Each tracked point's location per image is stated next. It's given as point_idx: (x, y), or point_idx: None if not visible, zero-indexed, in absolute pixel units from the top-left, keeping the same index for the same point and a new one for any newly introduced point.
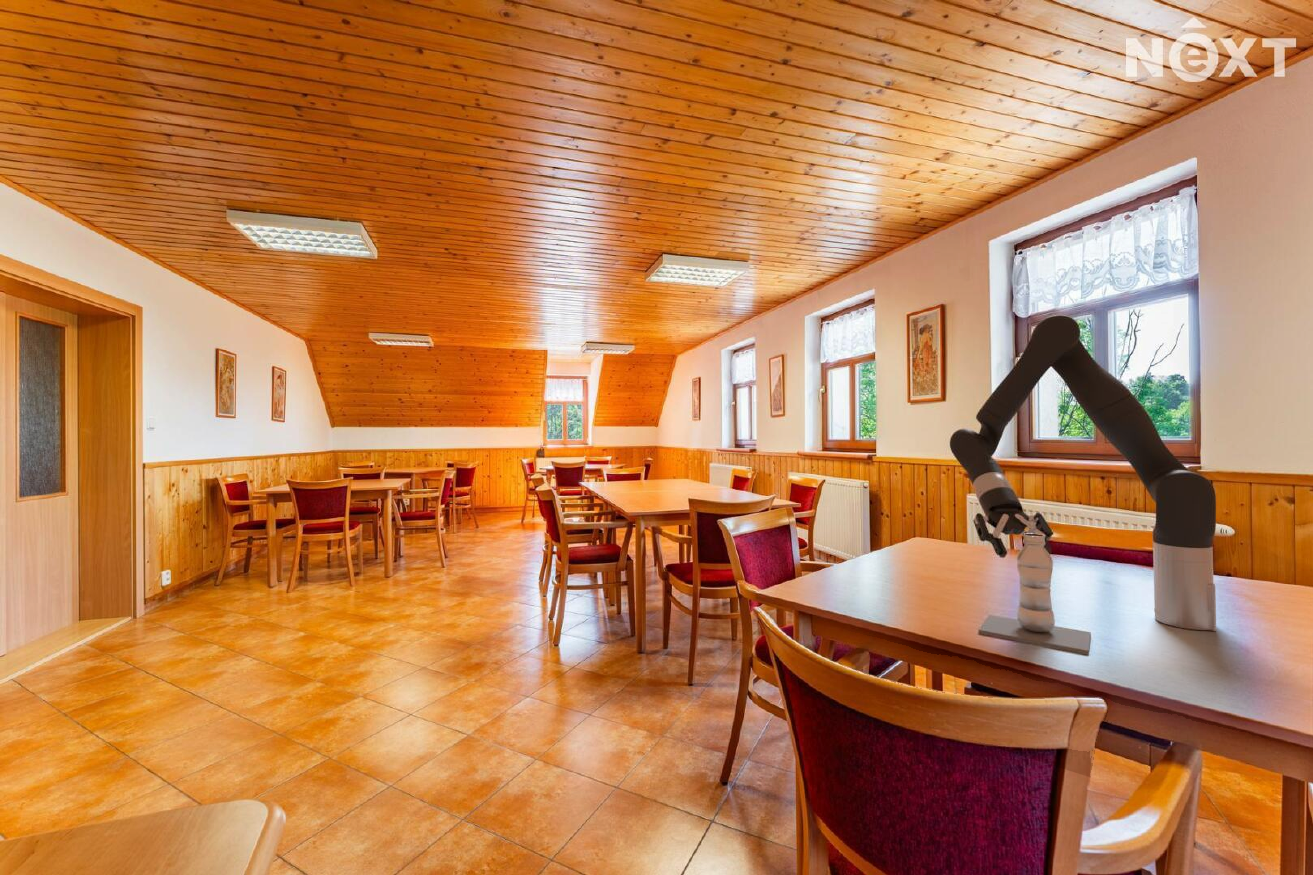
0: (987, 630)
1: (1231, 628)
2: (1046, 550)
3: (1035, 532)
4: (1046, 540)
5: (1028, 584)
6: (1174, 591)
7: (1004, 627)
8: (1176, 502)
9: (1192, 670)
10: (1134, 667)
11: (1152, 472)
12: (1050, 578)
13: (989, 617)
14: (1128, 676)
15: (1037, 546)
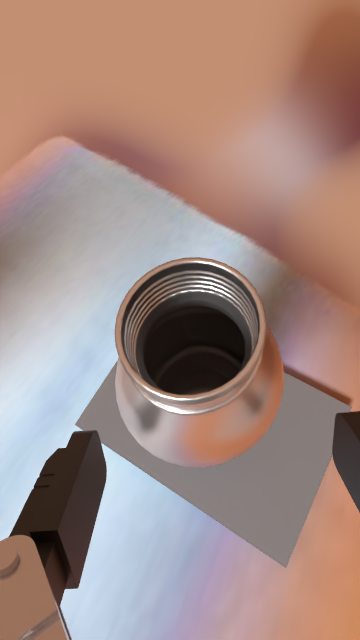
0: (328, 404)
1: None
2: (90, 436)
3: (45, 598)
4: (11, 532)
5: (238, 361)
6: None
7: (277, 434)
8: None
9: (25, 268)
10: (111, 265)
11: None
12: (159, 351)
13: (292, 532)
14: (146, 230)
15: (197, 299)
